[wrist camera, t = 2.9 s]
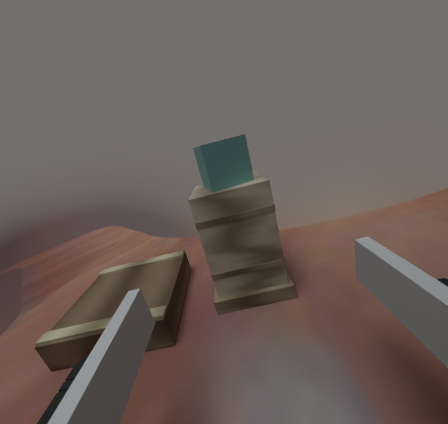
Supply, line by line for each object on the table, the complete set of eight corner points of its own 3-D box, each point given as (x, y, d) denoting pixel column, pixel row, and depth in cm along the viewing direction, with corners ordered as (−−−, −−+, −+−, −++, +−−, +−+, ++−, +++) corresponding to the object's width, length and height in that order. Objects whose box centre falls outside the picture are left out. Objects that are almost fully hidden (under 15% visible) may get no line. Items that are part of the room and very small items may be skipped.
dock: (191, 269, 30) (184, 249, 29) (174, 345, 19) (162, 317, 18) (112, 287, 31) (103, 268, 30) (51, 371, 20) (32, 345, 19)
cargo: (239, 176, 23) (230, 138, 22) (254, 179, 19) (245, 134, 18) (203, 186, 22) (193, 148, 21) (212, 192, 18) (199, 145, 17)
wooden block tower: (278, 260, 27) (260, 169, 24) (296, 297, 21) (276, 179, 17) (218, 273, 28) (191, 186, 24) (217, 314, 21) (181, 203, 18)
